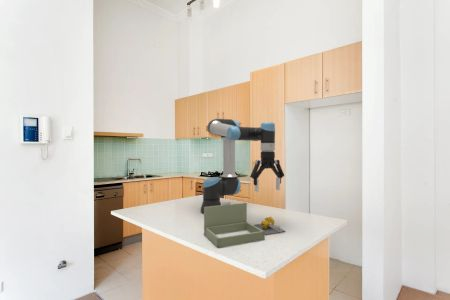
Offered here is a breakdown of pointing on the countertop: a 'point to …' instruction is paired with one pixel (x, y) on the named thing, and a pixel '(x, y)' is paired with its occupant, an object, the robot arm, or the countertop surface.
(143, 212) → the countertop surface
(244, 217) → the case
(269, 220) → the pressure relief valve
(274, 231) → the pad
